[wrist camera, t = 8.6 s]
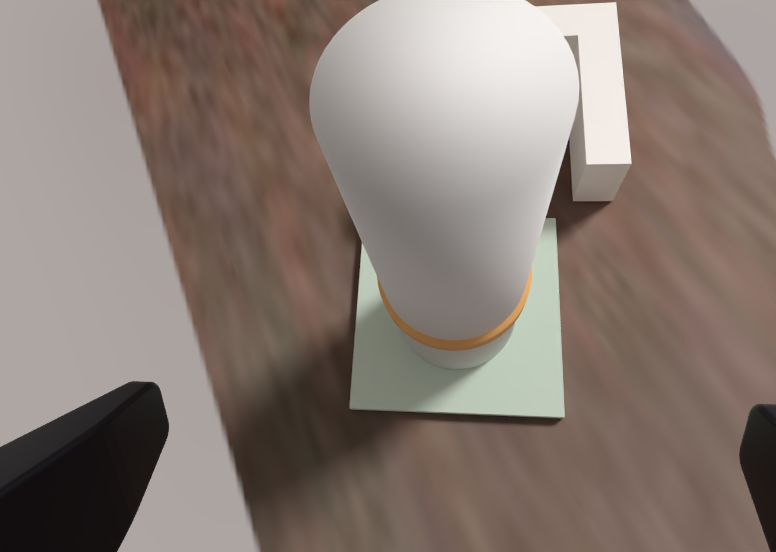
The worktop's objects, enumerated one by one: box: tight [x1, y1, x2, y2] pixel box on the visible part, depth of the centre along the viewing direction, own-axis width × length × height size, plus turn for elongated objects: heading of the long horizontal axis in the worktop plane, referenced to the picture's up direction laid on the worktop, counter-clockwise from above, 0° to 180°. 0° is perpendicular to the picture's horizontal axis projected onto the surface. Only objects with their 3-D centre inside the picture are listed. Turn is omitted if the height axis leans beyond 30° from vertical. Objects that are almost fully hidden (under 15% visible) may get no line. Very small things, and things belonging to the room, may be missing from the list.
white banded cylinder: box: [309, 0, 579, 370], centre depth 16 cm, size 5×5×14 cm
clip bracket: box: [536, 2, 632, 201], centre depth 25 cm, size 8×9×3 cm
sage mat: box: [349, 218, 565, 418], centre depth 23 cm, size 8×8×1 cm
